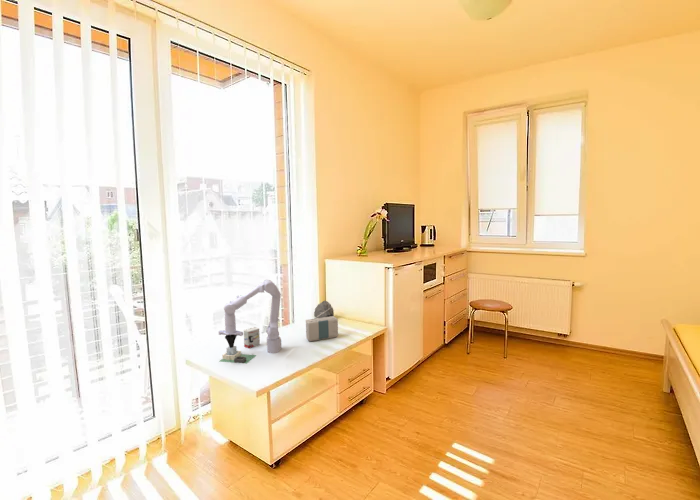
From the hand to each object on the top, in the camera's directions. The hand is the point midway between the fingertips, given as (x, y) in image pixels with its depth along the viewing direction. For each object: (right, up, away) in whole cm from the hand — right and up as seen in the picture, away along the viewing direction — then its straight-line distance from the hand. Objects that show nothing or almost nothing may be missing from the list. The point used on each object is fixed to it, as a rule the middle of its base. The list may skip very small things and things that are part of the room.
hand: (231, 347), depth 209 cm
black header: (+7, -7, -6) cm, 11 cm away
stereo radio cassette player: (+50, -3, +33) cm, 60 cm away
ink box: (+7, -5, +19) cm, 21 cm away
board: (+4, -7, -1) cm, 8 cm away
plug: (0, -6, 0) cm, 6 cm away
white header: (0, -6, +1) cm, 6 cm away
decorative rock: (+48, +1, +77) cm, 91 cm away
